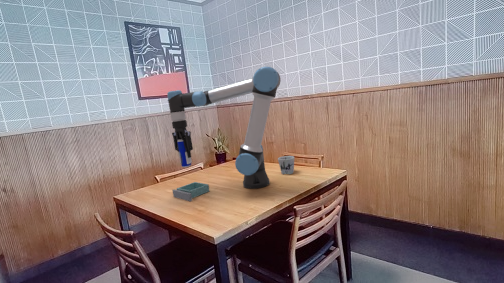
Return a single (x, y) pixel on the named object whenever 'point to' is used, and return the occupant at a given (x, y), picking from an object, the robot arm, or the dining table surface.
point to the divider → (182, 195)
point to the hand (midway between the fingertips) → (186, 163)
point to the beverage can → (182, 154)
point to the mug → (286, 164)
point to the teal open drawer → (195, 188)
